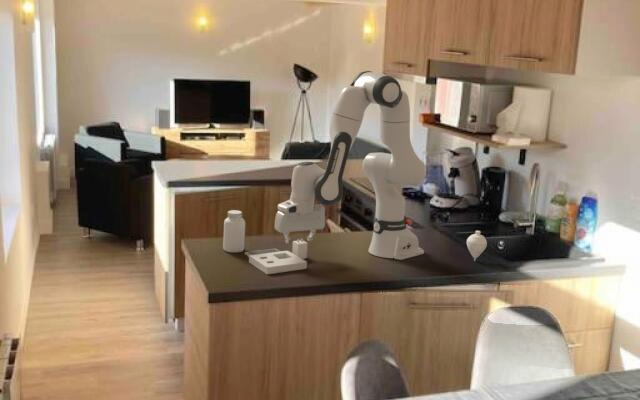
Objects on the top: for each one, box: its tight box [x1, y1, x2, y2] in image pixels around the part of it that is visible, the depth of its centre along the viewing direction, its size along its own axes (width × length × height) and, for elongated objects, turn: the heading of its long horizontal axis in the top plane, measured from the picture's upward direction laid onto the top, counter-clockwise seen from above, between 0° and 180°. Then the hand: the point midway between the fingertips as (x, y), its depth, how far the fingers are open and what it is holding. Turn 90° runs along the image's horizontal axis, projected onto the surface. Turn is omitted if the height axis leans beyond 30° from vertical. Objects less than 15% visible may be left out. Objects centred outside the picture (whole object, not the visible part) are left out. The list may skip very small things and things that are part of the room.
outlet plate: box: [248, 250, 308, 275], centre depth 243 cm, size 16×14×3 cm
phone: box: [244, 248, 281, 258], centre depth 253 cm, size 13×7×2 cm, turn 122°
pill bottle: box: [222, 209, 246, 254], centre depth 256 cm, size 8×8×15 cm
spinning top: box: [466, 230, 488, 262], centre depth 261 cm, size 8×8×12 cm
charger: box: [291, 238, 308, 260], centre depth 253 cm, size 4×4×7 cm
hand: (298, 241), depth 251 cm, fingers open, 8 cm apart
